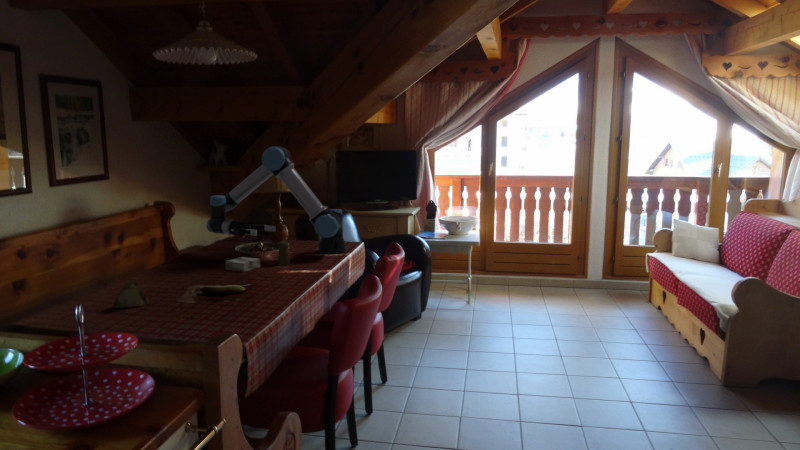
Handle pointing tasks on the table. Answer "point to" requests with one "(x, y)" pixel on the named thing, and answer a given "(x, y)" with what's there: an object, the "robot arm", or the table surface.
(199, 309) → the table surface
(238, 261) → the white stand
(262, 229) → the robot arm
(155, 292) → the table surface
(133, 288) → the rock
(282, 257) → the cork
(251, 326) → the table surface
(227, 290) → the brown green uneven piece
